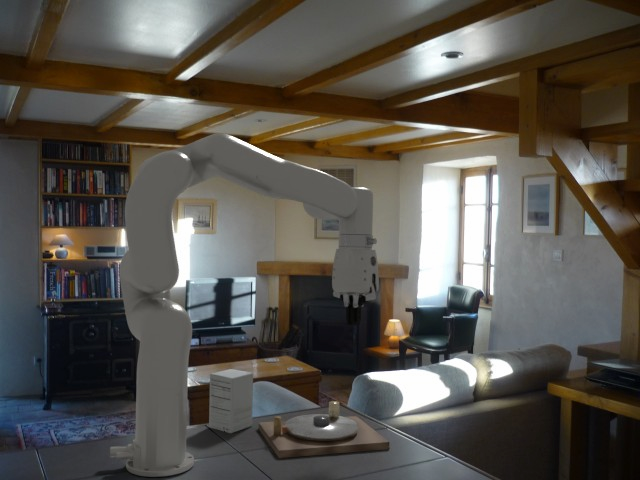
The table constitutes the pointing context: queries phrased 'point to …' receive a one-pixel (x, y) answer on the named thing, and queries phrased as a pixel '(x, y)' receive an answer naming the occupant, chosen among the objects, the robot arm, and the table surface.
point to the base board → (297, 447)
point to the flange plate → (321, 426)
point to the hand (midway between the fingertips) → (353, 324)
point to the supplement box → (231, 400)
